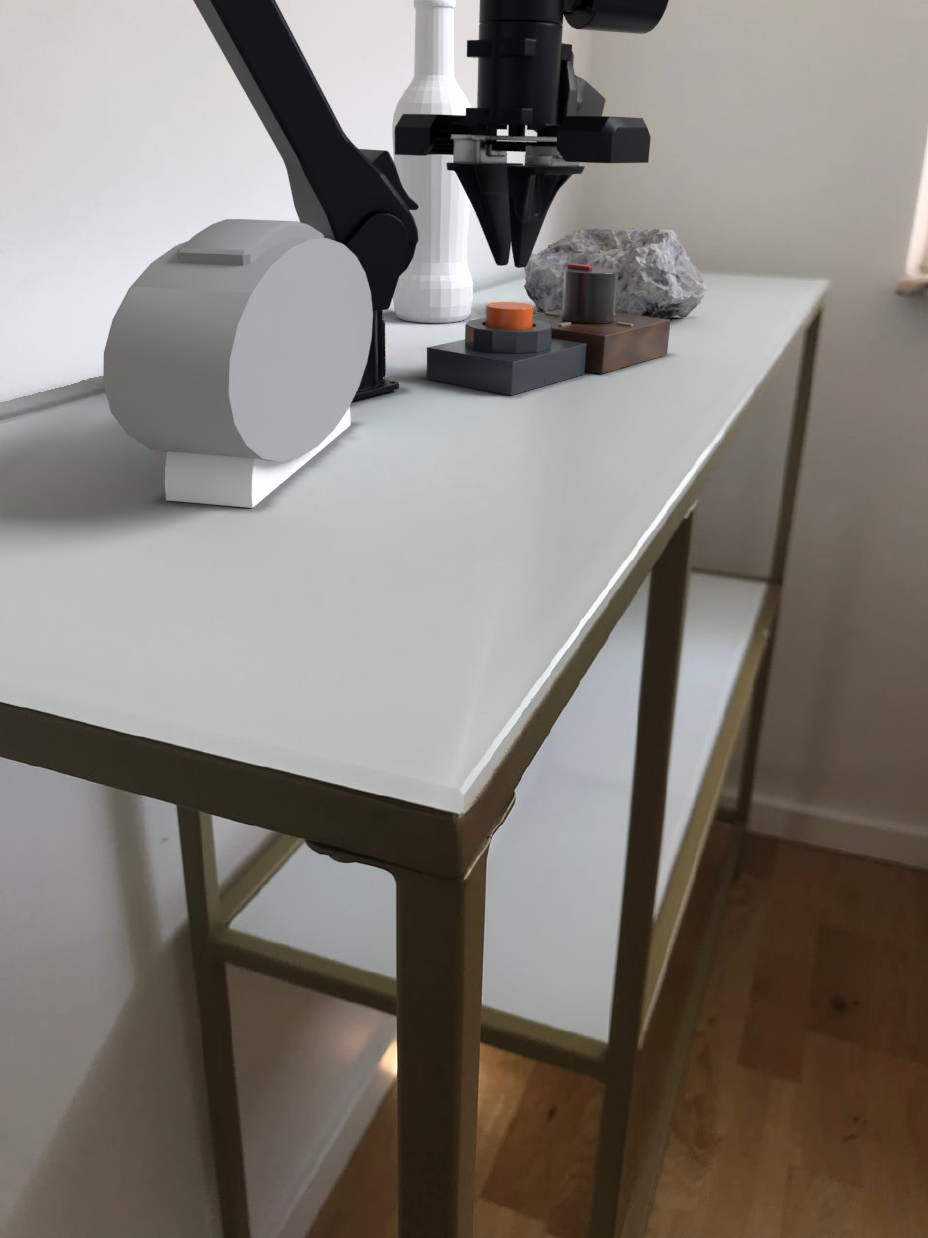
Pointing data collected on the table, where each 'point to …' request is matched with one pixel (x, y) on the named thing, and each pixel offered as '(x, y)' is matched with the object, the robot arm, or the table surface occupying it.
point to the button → (509, 315)
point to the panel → (613, 339)
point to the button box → (506, 358)
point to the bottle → (434, 181)
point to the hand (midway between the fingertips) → (511, 266)
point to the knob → (589, 294)
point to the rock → (621, 271)
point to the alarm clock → (240, 356)
